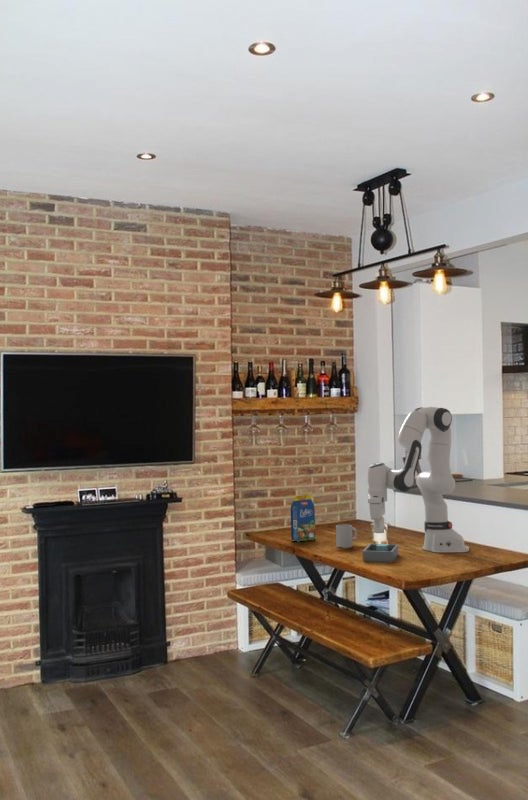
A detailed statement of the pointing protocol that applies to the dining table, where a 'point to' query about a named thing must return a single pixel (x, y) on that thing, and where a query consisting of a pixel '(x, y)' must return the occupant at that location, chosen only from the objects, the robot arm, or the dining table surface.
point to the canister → (381, 524)
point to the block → (382, 547)
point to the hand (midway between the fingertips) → (378, 526)
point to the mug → (345, 535)
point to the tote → (380, 554)
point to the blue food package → (302, 518)
